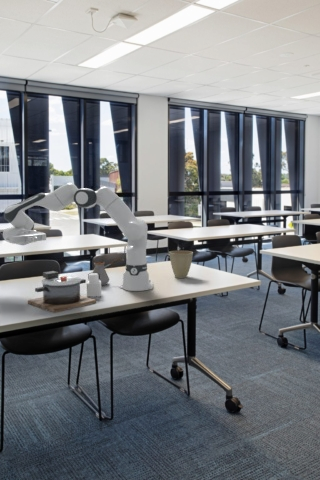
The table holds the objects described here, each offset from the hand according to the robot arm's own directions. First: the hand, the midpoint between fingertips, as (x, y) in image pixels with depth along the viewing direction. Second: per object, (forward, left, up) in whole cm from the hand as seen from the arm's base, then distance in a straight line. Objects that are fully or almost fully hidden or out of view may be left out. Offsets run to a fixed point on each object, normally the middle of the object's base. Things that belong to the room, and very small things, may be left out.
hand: (35, 239), depth 241 cm
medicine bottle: (-5, +30, -30) cm, 43 cm away
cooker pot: (+13, +19, -28) cm, 37 cm away
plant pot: (-58, +70, -30) cm, 96 cm away
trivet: (+13, +19, -30) cm, 38 cm away
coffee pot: (-33, +29, -30) cm, 53 cm away
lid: (+13, +18, -19) cm, 29 cm away
